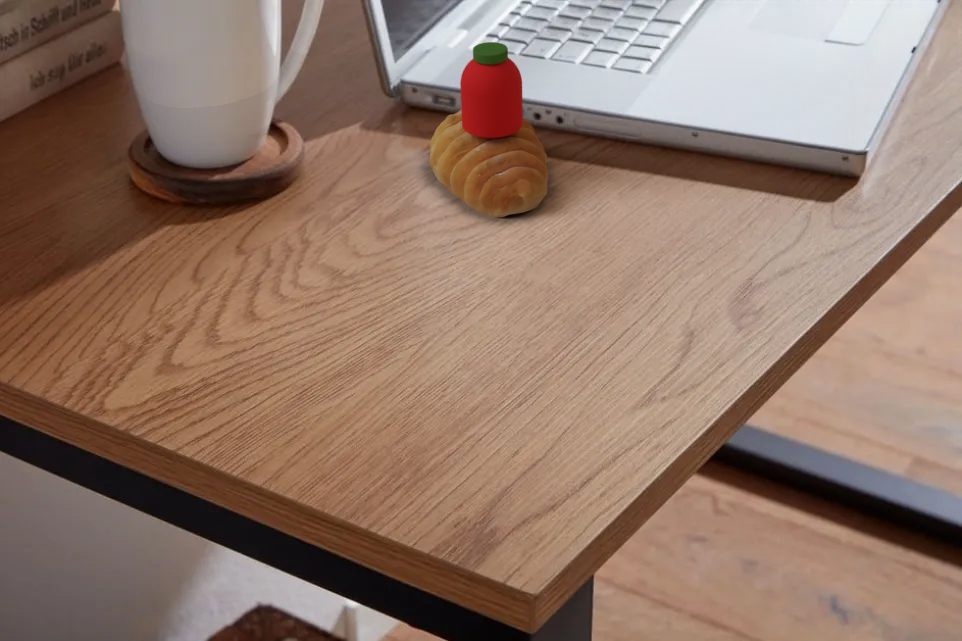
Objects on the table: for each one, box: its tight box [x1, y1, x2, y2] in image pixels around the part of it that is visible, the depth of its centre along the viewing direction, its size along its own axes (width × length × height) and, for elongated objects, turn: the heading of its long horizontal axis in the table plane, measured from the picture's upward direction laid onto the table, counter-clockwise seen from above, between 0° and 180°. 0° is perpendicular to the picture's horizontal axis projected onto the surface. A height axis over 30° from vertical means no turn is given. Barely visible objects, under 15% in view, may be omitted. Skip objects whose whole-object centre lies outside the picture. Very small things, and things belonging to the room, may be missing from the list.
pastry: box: [428, 109, 549, 218], centre depth 80 cm, size 9×7×4 cm
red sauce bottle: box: [459, 41, 524, 138], centre depth 78 cm, size 4×4×5 cm
